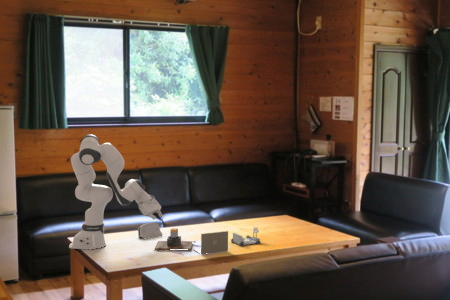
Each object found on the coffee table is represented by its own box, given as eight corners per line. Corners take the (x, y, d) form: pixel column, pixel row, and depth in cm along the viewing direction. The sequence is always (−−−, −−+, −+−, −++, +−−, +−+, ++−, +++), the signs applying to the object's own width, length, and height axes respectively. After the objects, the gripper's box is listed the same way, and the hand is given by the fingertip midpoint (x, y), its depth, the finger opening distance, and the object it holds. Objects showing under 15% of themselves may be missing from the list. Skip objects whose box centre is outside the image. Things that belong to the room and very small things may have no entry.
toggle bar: (170, 245, 381) (170, 229, 380) (172, 243, 384) (172, 228, 383) (175, 245, 379) (175, 229, 378) (177, 244, 383) (177, 228, 382)
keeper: (154, 250, 373) (154, 240, 372) (158, 243, 391) (158, 234, 390) (190, 251, 373) (190, 241, 372) (192, 243, 391) (192, 234, 390)
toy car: (254, 225, 402) (264, 229, 392) (254, 240, 403) (263, 244, 393) (231, 228, 394) (240, 232, 384) (230, 243, 395) (239, 247, 385)
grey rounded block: (142, 239, 401) (139, 224, 403) (138, 240, 405) (135, 225, 406) (162, 235, 413) (159, 220, 414) (158, 236, 416) (155, 221, 418)
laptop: (219, 247, 383) (219, 227, 382) (228, 252, 372) (228, 231, 371) (192, 250, 375) (192, 229, 374) (201, 255, 364) (201, 234, 363)
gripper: (140, 200, 376) (154, 217, 373) (154, 195, 395) (168, 211, 393) (133, 206, 378) (147, 223, 375) (148, 201, 397) (161, 218, 395)
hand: (158, 217), depth 384 cm, fingers open, 8 cm apart
